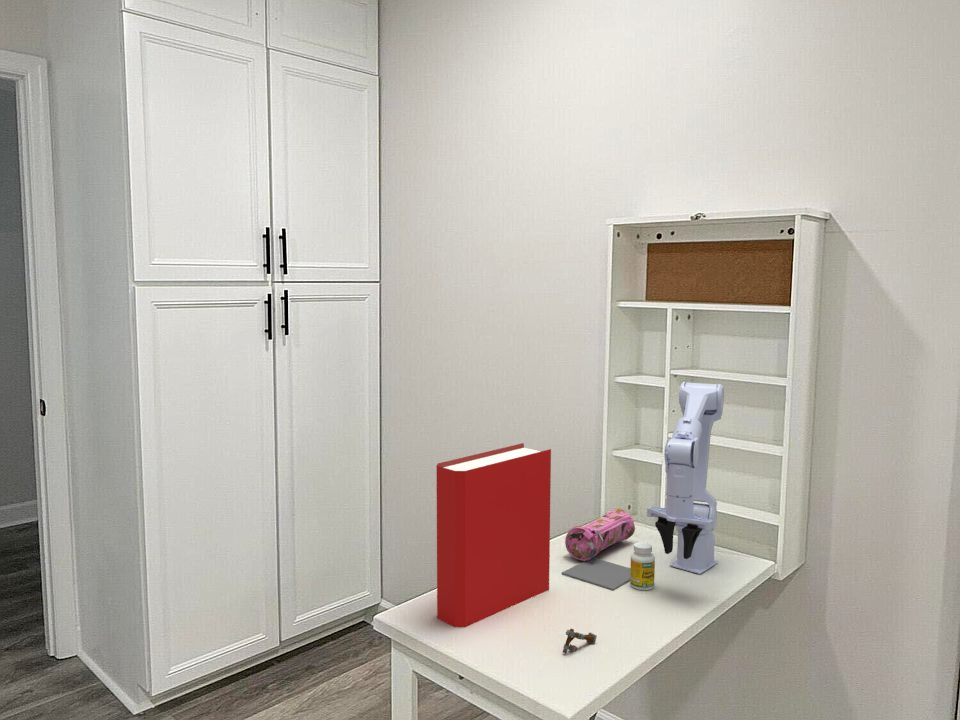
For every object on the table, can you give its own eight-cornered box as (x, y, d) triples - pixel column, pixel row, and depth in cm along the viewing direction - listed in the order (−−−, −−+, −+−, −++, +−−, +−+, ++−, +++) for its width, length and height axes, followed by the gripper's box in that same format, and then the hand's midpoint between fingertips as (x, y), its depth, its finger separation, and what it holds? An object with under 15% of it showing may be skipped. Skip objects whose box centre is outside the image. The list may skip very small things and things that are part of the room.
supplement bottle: (642, 579, 182) (643, 539, 181) (659, 587, 178) (660, 546, 177) (624, 584, 179) (625, 543, 178) (641, 593, 175) (643, 551, 174)
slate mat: (592, 558, 195) (592, 557, 195) (642, 573, 186) (642, 571, 186) (561, 574, 185) (561, 572, 185) (613, 590, 176) (613, 588, 176)
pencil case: (595, 566, 189) (596, 530, 188) (562, 557, 194) (563, 522, 194) (637, 543, 206) (638, 510, 205) (605, 536, 211) (606, 503, 210)
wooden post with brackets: (557, 650, 147) (564, 626, 148) (583, 654, 153) (590, 631, 153) (564, 654, 146) (571, 629, 147) (590, 658, 151) (597, 634, 152)
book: (522, 579, 182) (523, 443, 178) (549, 589, 177) (551, 448, 173) (433, 616, 163) (432, 464, 159) (460, 629, 158) (460, 472, 154)
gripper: (640, 491, 172) (638, 551, 174) (703, 505, 163) (700, 568, 164) (656, 484, 177) (654, 543, 179) (718, 497, 168) (715, 559, 170)
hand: (677, 555), depth 172 cm, fingers open, 4 cm apart
